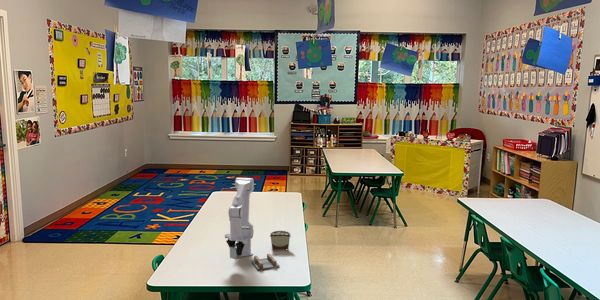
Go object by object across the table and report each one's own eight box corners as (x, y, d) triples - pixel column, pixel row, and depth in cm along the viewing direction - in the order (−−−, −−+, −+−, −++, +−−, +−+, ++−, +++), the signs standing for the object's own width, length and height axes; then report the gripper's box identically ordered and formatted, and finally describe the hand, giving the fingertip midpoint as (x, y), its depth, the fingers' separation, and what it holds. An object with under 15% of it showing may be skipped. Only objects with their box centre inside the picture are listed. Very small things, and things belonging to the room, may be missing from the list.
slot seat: (251, 262, 242) (251, 256, 242) (271, 258, 247) (271, 252, 246) (258, 270, 231) (257, 264, 231) (279, 267, 236) (279, 261, 236)
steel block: (229, 257, 231) (229, 246, 230) (236, 254, 235) (235, 244, 234) (236, 259, 229) (235, 248, 228) (242, 257, 232) (242, 246, 231)
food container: (290, 246, 266) (290, 230, 264) (290, 250, 260) (290, 233, 258) (270, 246, 266) (270, 230, 264) (269, 250, 260) (269, 233, 258)
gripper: (220, 228, 230) (220, 252, 233) (240, 234, 222) (240, 259, 224) (230, 224, 236) (230, 248, 238) (250, 230, 228) (250, 255, 230)
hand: (236, 253), depth 232 cm, fingers closed on steel block, 4 cm apart
